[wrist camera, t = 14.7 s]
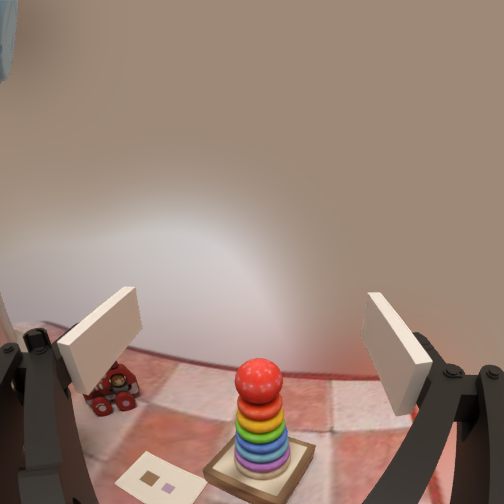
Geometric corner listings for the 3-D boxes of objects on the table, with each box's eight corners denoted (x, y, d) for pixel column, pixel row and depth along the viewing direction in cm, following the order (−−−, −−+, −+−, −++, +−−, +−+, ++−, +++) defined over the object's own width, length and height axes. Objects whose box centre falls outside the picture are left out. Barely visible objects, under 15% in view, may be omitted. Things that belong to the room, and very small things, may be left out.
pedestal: (206, 481, 31) (202, 469, 30) (247, 435, 41) (246, 420, 40) (278, 514, 25) (280, 504, 24) (312, 458, 35) (316, 444, 34)
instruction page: (114, 483, 28) (113, 483, 28) (146, 451, 36) (145, 450, 36) (179, 521, 23) (178, 521, 23) (209, 481, 31) (208, 480, 31)
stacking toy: (278, 435, 37) (284, 337, 32) (298, 472, 30) (316, 377, 25) (228, 446, 35) (216, 349, 30) (242, 487, 27) (234, 396, 22)
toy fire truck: (146, 406, 47) (133, 366, 44) (90, 419, 40) (70, 380, 38) (137, 385, 53) (126, 347, 50) (85, 398, 46) (69, 359, 43)
